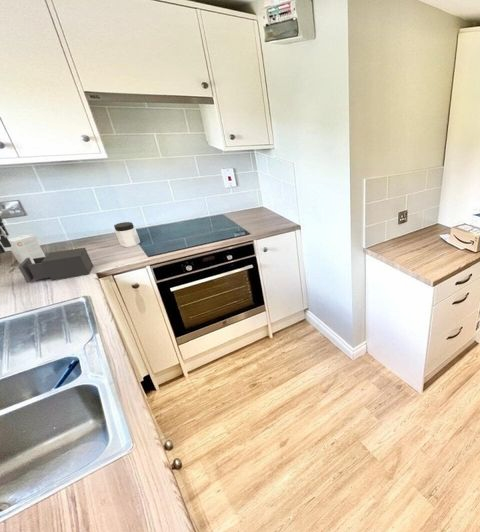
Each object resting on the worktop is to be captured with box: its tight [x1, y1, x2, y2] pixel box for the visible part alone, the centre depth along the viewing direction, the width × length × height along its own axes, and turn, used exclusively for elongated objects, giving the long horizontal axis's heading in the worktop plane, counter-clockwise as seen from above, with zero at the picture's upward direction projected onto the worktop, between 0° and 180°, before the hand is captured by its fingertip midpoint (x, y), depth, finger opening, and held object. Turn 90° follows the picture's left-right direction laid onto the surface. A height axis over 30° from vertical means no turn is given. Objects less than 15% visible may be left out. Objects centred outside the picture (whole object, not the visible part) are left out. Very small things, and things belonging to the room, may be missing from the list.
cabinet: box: [42, 247, 94, 282], centre depth 150 cm, size 13×11×10 cm
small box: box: [7, 233, 47, 265], centre depth 158 cm, size 8×6×13 cm
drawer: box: [5, 257, 51, 284], centre depth 145 cm, size 17×10×8 cm, turn 122°
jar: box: [113, 221, 141, 248], centre depth 180 cm, size 9×8×12 cm
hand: (4, 249), depth 137 cm, fingers open, 6 cm apart
